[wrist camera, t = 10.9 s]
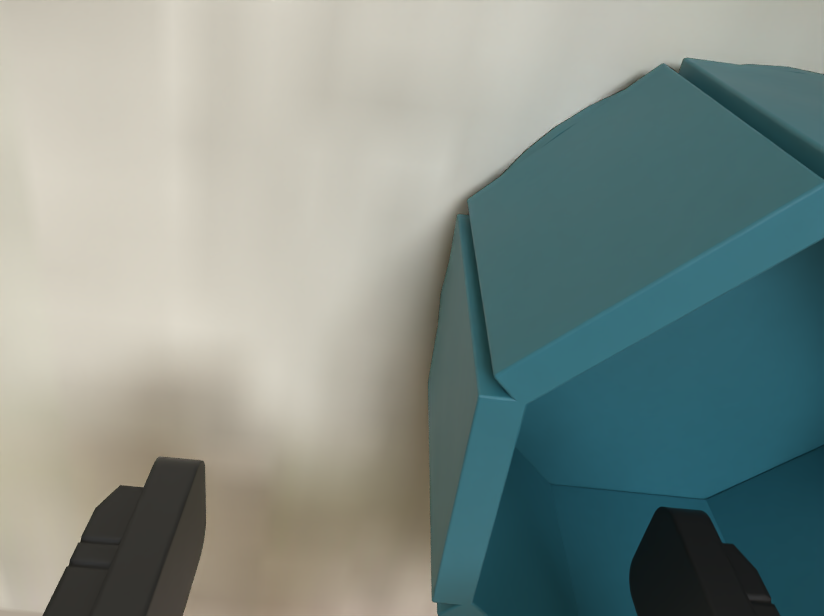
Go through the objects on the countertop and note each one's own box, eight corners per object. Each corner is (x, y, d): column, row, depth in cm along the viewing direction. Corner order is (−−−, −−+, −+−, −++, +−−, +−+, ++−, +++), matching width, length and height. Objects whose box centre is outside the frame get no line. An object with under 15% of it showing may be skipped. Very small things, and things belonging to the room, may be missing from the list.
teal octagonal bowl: (409, 473, 22) (405, 718, 16) (486, 24, 15) (537, 131, 9) (815, 513, 23) (972, 762, 16) (1071, 105, 16) (1525, 259, 9)
